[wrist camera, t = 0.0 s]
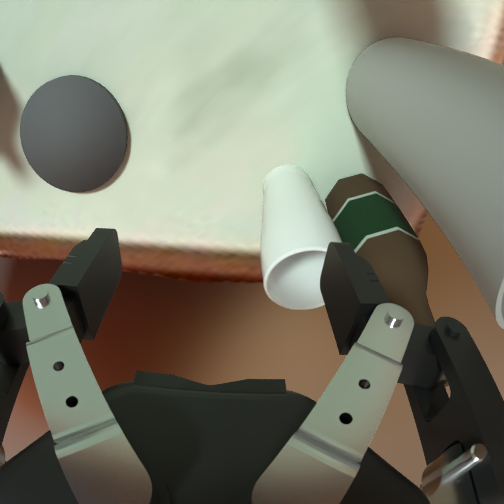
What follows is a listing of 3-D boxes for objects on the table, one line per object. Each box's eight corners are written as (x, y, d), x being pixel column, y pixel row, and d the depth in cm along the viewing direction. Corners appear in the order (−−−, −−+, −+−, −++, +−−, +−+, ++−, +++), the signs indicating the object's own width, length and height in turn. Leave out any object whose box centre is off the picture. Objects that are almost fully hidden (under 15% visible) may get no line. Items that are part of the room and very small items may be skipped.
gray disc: (43, 58, 23) (39, 59, 23) (148, 106, 29) (146, 108, 28) (14, 161, 31) (11, 164, 30) (102, 206, 36) (100, 210, 35)
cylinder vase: (398, 166, 33) (520, 349, 14) (318, 97, 29) (456, 282, 9) (463, 94, 27) (634, 226, 8) (393, 13, 22) (624, 71, 3)
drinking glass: (265, 149, 32) (278, 238, 21) (325, 165, 33) (367, 256, 22) (249, 203, 36) (252, 305, 25) (304, 215, 38) (330, 315, 26)
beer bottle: (317, 225, 39) (367, 418, 20) (329, 168, 34) (413, 366, 15) (375, 228, 39) (447, 401, 21) (391, 174, 34) (501, 349, 16)
